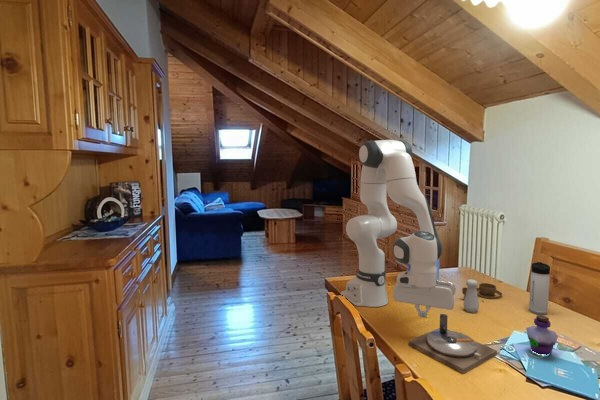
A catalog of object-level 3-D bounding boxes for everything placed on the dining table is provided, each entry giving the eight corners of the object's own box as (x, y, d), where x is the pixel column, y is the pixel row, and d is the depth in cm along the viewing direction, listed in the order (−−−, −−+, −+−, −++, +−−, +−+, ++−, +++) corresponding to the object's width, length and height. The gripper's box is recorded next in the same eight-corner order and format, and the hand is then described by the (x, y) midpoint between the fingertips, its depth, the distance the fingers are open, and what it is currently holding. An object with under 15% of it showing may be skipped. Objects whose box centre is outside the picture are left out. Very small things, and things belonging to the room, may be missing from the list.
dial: (439, 358, 109) (439, 335, 108) (420, 334, 124) (420, 314, 123) (486, 356, 110) (487, 333, 109) (462, 333, 124) (462, 312, 124)
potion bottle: (521, 352, 115) (523, 316, 113) (528, 342, 121) (530, 308, 119) (553, 363, 108) (556, 325, 107) (559, 352, 114) (561, 316, 113)
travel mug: (545, 310, 147) (548, 262, 144) (548, 316, 141) (552, 267, 138) (527, 307, 149) (530, 261, 147) (530, 313, 143) (533, 265, 141)
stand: (408, 345, 120) (408, 337, 120) (441, 330, 130) (441, 323, 130) (463, 373, 104) (463, 365, 103) (496, 355, 113) (497, 347, 113)
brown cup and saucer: (510, 303, 155) (511, 290, 154) (463, 303, 157) (463, 290, 156) (491, 289, 172) (492, 277, 172) (449, 288, 174) (449, 277, 173)
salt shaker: (480, 314, 143) (481, 283, 142) (465, 313, 145) (466, 282, 143) (476, 308, 149) (477, 278, 148) (461, 307, 150) (462, 277, 149)
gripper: (456, 279, 122) (455, 318, 124) (396, 272, 131) (395, 308, 133) (455, 285, 117) (453, 326, 118) (392, 277, 126) (391, 314, 127)
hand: (422, 316), depth 126 cm, fingers closed
